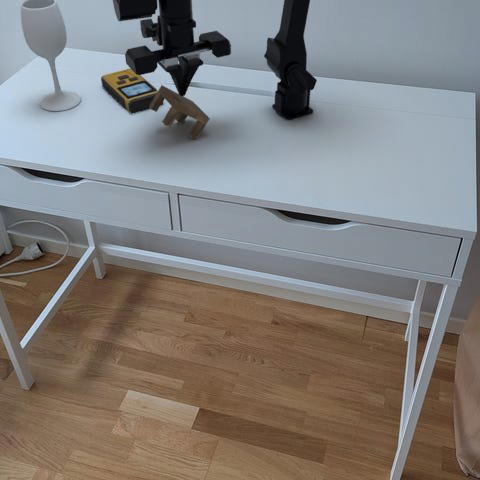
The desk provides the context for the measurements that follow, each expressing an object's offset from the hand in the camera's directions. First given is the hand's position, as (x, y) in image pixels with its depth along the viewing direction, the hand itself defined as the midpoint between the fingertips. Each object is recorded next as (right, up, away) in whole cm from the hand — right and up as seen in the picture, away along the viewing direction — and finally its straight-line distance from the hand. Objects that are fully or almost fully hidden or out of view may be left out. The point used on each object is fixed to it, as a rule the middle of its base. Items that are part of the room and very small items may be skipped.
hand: (182, 95), depth 112 cm
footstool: (+2, -4, +5) cm, 6 cm away
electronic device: (-13, +4, +17) cm, 22 cm away
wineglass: (-28, +2, +15) cm, 31 cm away
